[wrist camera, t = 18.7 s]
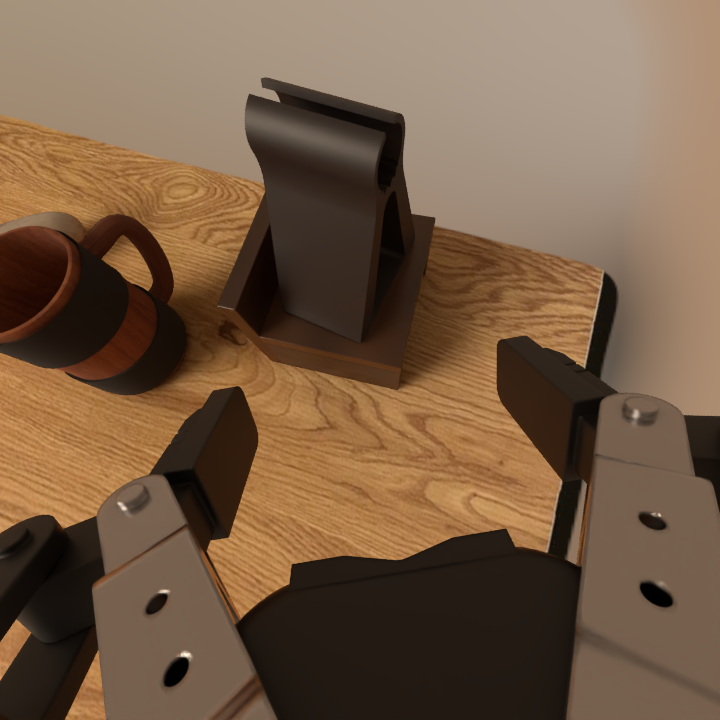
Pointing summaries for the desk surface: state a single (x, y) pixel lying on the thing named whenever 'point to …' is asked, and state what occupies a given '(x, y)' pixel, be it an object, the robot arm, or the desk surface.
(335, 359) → the shelf
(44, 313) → the mug
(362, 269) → the phone stand
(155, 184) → the desk surface
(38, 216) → the stone
